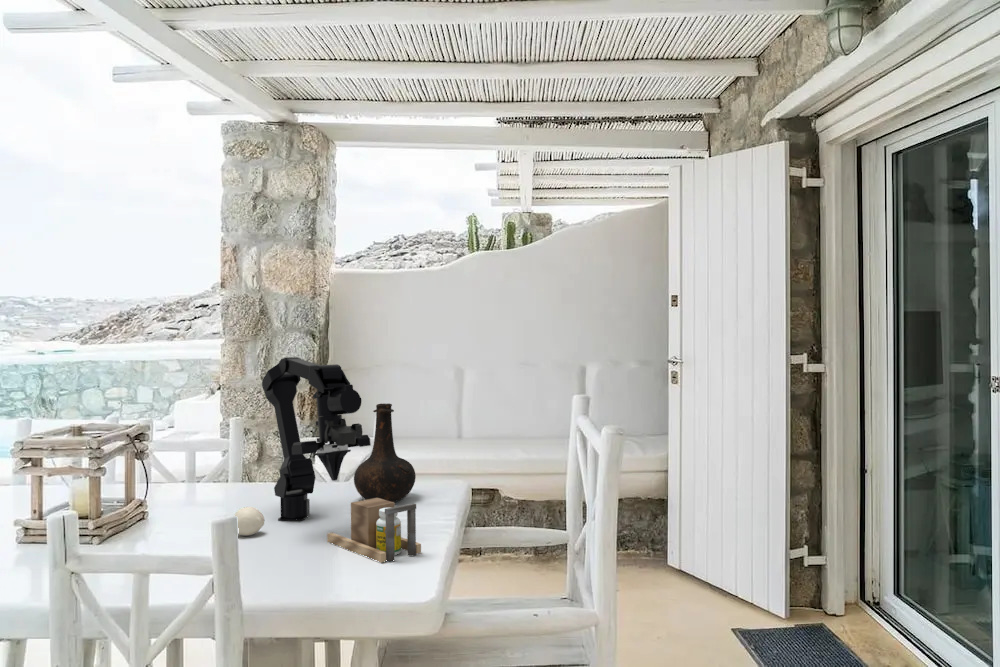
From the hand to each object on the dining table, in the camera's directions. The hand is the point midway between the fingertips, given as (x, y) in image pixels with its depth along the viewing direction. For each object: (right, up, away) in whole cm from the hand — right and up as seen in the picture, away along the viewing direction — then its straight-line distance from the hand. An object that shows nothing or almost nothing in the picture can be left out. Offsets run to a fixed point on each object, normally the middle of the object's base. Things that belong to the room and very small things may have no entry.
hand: (334, 480), depth 176 cm
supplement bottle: (+16, -13, -17) cm, 26 cm away
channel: (+11, -13, -12) cm, 21 cm away
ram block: (+11, -13, -12) cm, 21 cm away
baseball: (-20, -13, -1) cm, 24 cm away
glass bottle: (+7, -13, +35) cm, 38 cm away
